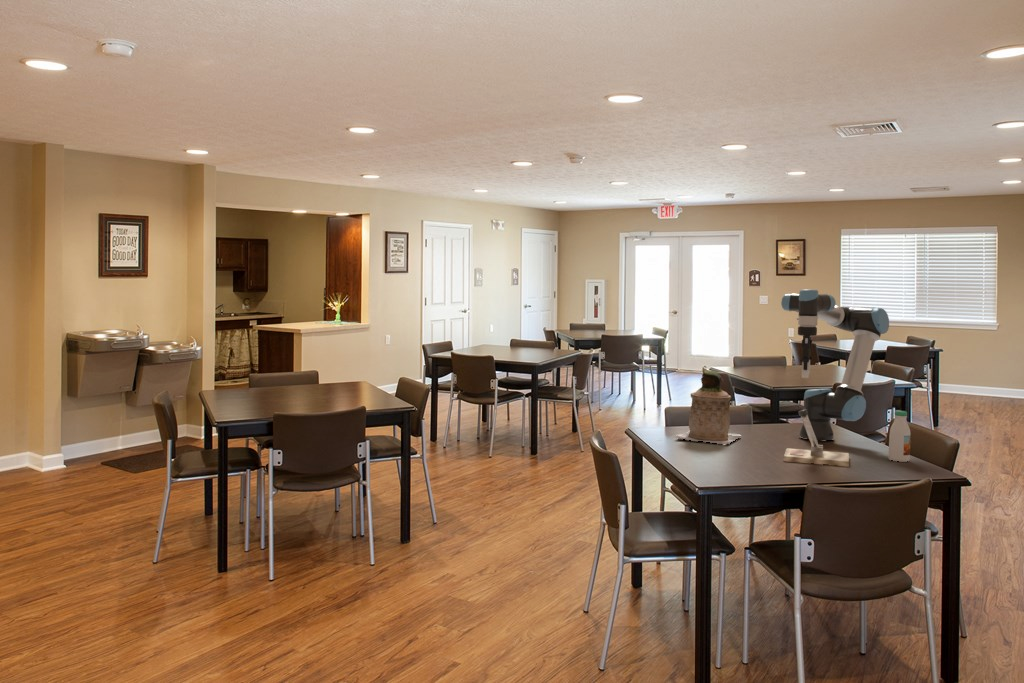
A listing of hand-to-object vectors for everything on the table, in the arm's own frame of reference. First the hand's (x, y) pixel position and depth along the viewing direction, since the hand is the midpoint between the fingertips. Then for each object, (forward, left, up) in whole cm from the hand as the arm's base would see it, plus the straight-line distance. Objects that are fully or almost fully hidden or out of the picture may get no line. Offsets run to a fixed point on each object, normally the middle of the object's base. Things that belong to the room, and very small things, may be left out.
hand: (805, 376), depth 343 cm
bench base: (+18, -2, -32) cm, 37 cm away
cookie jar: (-26, -33, -32) cm, 53 cm away
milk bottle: (+19, +31, -32) cm, 49 cm away
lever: (+18, -2, -29) cm, 34 cm away
